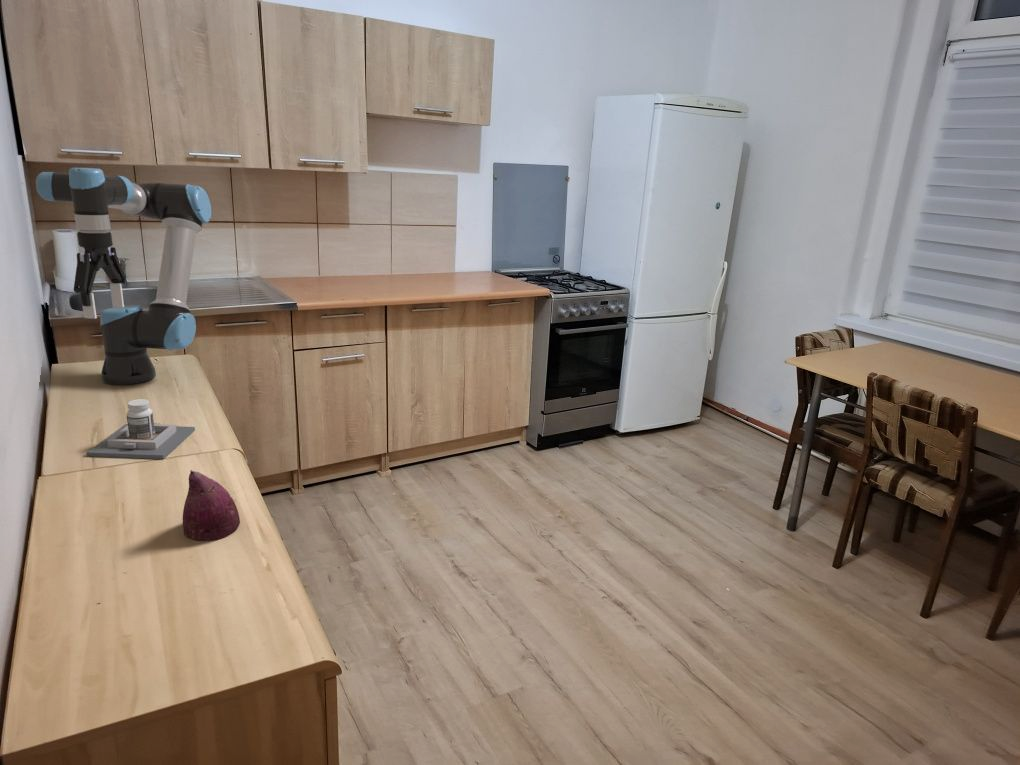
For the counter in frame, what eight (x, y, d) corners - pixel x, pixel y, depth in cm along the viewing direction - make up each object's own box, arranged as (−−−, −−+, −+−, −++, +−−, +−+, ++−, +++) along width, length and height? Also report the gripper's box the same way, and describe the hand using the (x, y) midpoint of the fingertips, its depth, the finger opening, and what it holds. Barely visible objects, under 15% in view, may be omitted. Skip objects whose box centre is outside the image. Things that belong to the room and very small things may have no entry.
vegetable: (192, 559, 127) (163, 501, 119) (184, 527, 135) (157, 471, 127) (247, 535, 132) (223, 478, 124) (237, 506, 139) (213, 450, 131)
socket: (125, 427, 176) (124, 417, 175) (195, 430, 177) (194, 420, 176) (87, 456, 159) (85, 445, 158) (163, 459, 160) (162, 448, 159)
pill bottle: (138, 433, 170) (134, 397, 167) (160, 435, 170) (156, 399, 167) (124, 442, 165) (120, 405, 162) (147, 444, 165) (142, 407, 162)
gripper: (105, 225, 181) (115, 302, 188) (48, 235, 157) (62, 322, 164) (133, 227, 181) (142, 303, 188) (80, 237, 158) (93, 323, 164)
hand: (105, 312), depth 176 cm, fingers open, 13 cm apart
